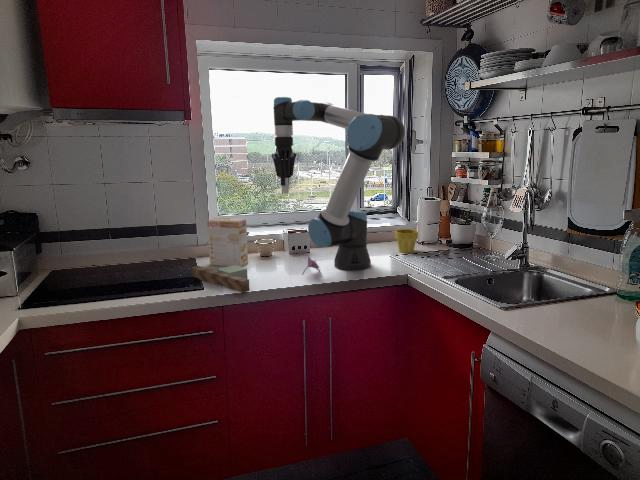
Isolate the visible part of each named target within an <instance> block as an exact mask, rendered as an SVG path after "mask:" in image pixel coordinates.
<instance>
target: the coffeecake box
mask: <svg viewBox="0 0 640 480" xmlns="http://www.w3.org/2000/svg"><path fill="white" fill-rule="evenodd" d="M206 221H207V234H208V235H207V237H208V252H209V264H210V266H220V267H221V266H222V267H228V266H232V265H236V266H240V267H244V266H246V265H249V255H248V234H247V233H248V231H247V229H248V227H247V219H246V218H230V217H229V218H227V217H214V218H210V219H207V220H206Z"/></svg>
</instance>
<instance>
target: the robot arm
mask: <svg viewBox="0 0 640 480" xmlns="http://www.w3.org/2000/svg"><path fill="white" fill-rule="evenodd" d="M296 121H297V122H299V121H301V122H302V121H306V122H307V121H308V122H322V123H325V124H330V125H333V126H335V127H339V128H342V129H345V130H346V134H345V135H346V137H347V138H346V142H347V150H348V152H349V153H348V155H347V157H346V161H345V162H344V165H343V168H342V170H341V172H340V175H339V176H338V179H337V181H336V184H335V187H334V189H333V192H331V193H332V194H331V196H330V198H329V200H328V204H327V206H324V207H322V208H321V209H320V212H319V215H318V216H317V217H314V218H312V219H311V220H310V221H309V223H308V227H307V230H308V231H307V232H308V235H309V238H310V241H311V242H312V243H313V245H315V246H316V247H317V248H330V247H334V246H337V245H338V248H337V252H336V254H335V257H334V263H333V264H334V267H335V268H337V269H340V270H347V271H361V270H366V269H369V268H370V267H371V266H372V260H371V258H370V255H369V254H370V253H369V251H368V247H367V243H368V241H367V240H368V217H367V216H368V215H367V213H366V212H364V211H359V210H352V207H353V205H354V203H355V201H356V199H357V196H358V194H359V192H360V190H361V187H362V186H363V182H364V181H365V179H366V177H367V174H368V173H369V170H370V167H371V165H372V164H373V163H374V162H376V161H378V160H379V159H380V156H381V154H382V152H383V151H385V150H386V151H388V150H392V149H395V148H397V147H399V146H400V145H401V144H402V142H403V141H404V140H405V139H404V138H405V135H406V128H405V127H406V126H405V125H404V123H403V121H402V120H401V119H399V118H398V117H397V116H393V115H387V114H386V115H385V114H384V115H383V114H374V113H373V114H372V113H366V112H361V111H357V110H353V109H349V108H347V107H346V108H345V107H343V106H338V105H335V104H334V103H331V102H326V101H325V102H320V101H319V102H317V101H311V100H308V99H299V100H293V99H292V97H289V96H277V97H275V98H274V99H273V123H274V126H273V127H274V136H275V137H274V146H275V147H276V148H275V152H274V153H271V157H272V160H273V165H274V169H275V174H276V175H275V176H276V177H277V178H279V179H280V186H281V194H284V195H286V194H289V193H290V190H289V189H290V187H289V186H290V178H292V176H293V175H294V169H295V161H296V157H297V155H298V154H297V153H296V152H294V151H293V148H292V146H294V137H293V136H294V128H293V122H296Z"/></svg>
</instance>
